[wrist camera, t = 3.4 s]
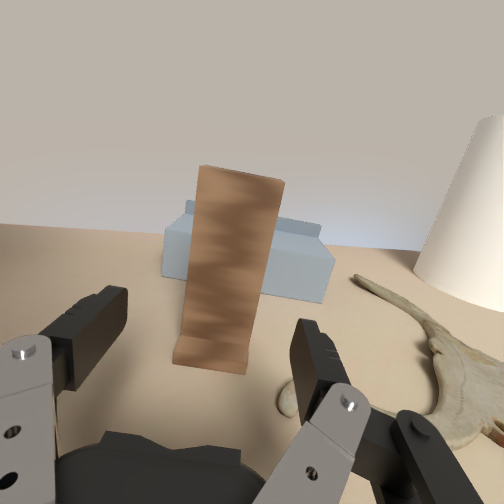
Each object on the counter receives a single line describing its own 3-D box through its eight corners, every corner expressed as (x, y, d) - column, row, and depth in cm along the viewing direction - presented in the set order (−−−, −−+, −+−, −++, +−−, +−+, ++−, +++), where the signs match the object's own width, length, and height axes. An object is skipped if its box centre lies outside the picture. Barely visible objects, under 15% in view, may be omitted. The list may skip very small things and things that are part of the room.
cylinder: (521, 325, 37) (660, 112, 28) (400, 274, 49) (469, 111, 40) (527, 299, 49) (626, 142, 39) (427, 263, 60) (485, 135, 51)
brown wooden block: (172, 363, 19) (192, 166, 14) (191, 317, 25) (210, 164, 20) (245, 374, 19) (288, 185, 15) (247, 326, 25) (279, 178, 20)
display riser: (161, 276, 31) (166, 213, 28) (183, 248, 40) (188, 199, 38) (321, 303, 32) (340, 245, 29) (306, 270, 42) (319, 224, 39)
